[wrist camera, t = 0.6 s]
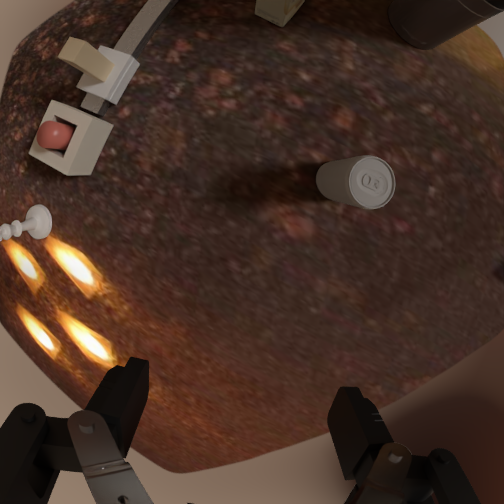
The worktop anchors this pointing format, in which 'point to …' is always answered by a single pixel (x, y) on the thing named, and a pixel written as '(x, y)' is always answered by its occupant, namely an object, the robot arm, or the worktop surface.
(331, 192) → the beverage can
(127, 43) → the rail
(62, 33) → the worktop surface
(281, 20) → the skincare box
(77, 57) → the carriage
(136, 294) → the worktop surface
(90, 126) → the cream square box
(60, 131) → the button
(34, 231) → the chess piece
